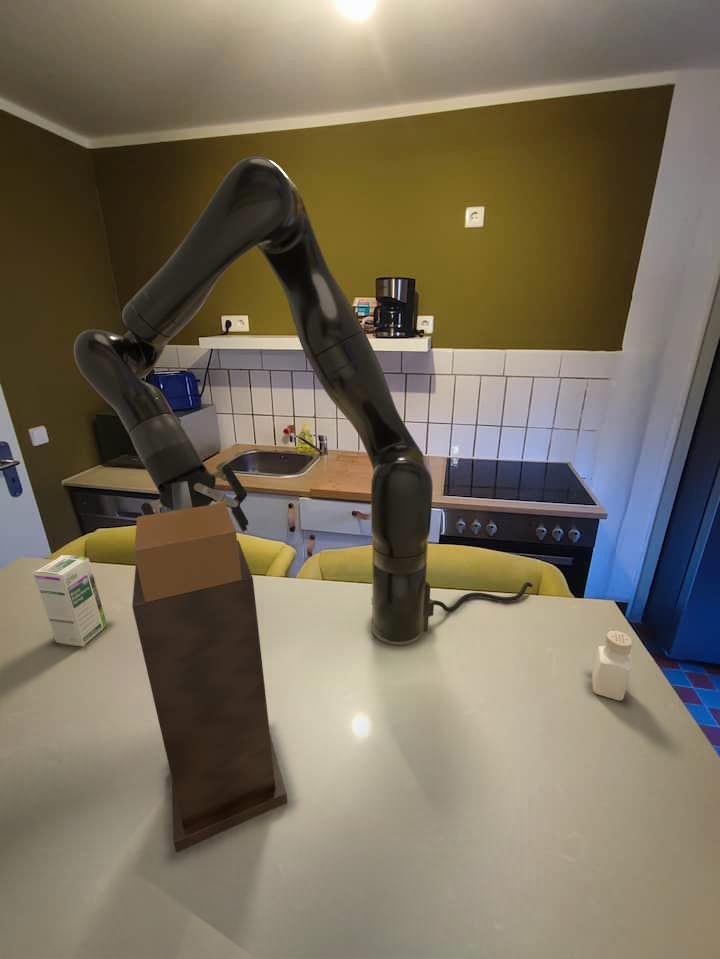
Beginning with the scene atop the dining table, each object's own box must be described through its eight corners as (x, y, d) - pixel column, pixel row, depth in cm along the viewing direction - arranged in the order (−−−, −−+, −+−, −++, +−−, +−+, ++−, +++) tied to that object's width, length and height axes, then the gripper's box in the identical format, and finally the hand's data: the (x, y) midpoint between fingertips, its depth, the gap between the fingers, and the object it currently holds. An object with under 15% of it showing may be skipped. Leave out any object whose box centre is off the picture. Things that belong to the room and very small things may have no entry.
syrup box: (83, 647, 73) (62, 574, 68) (54, 643, 74) (31, 571, 69) (108, 626, 78) (90, 556, 73) (80, 621, 79) (61, 553, 74)
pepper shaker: (620, 683, 65) (634, 633, 62) (623, 703, 62) (637, 651, 58) (591, 675, 67) (602, 625, 63) (592, 694, 63) (604, 642, 60)
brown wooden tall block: (268, 731, 58) (246, 534, 47) (287, 802, 49) (266, 580, 39) (172, 767, 53) (125, 557, 43) (175, 852, 45) (117, 616, 34)
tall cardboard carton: (212, 491, 60) (207, 457, 58) (241, 580, 39) (236, 531, 37) (149, 500, 56) (142, 464, 55) (145, 602, 36) (133, 550, 34)
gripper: (113, 467, 59) (171, 570, 59) (211, 424, 64) (264, 519, 64) (124, 477, 66) (175, 569, 66) (211, 438, 71) (259, 523, 71)
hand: (219, 544), depth 65 cm, fingers open, 8 cm apart
